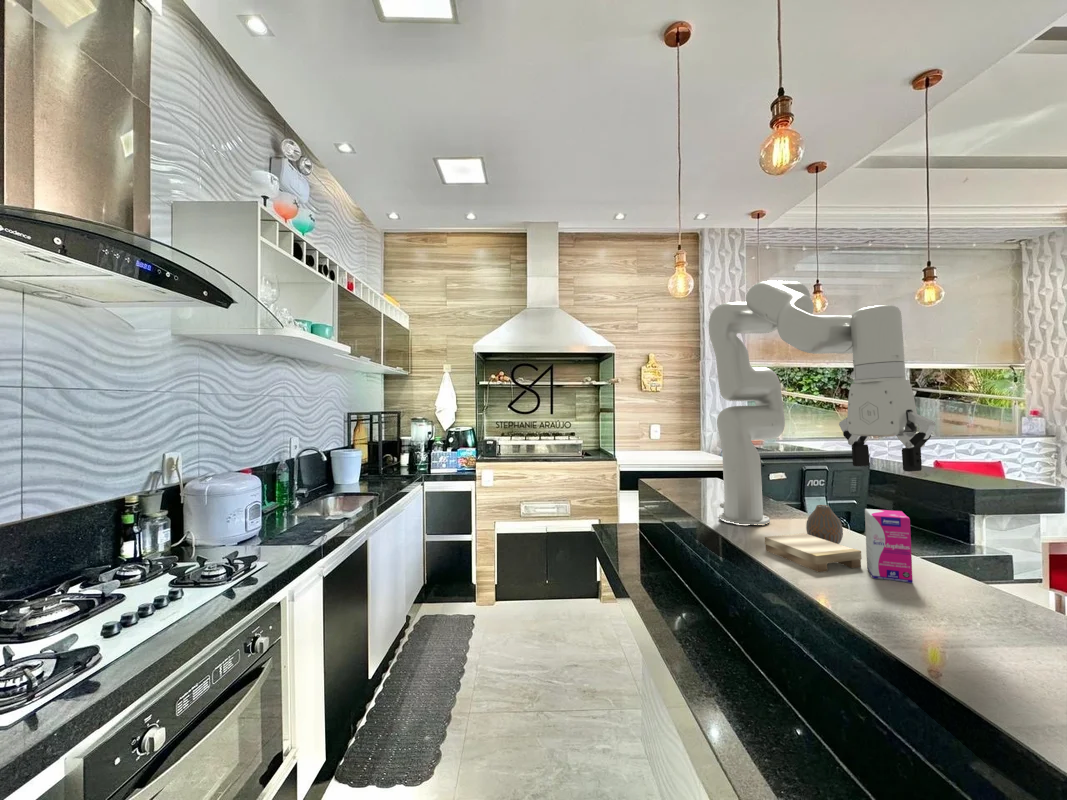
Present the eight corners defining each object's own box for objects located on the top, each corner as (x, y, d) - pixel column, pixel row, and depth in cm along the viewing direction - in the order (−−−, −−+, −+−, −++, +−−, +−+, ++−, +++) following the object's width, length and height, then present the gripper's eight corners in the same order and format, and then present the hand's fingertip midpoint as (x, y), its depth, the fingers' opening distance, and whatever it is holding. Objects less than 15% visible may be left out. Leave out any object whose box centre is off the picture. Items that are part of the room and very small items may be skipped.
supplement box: (872, 579, 81) (869, 514, 81) (866, 568, 86) (863, 508, 87) (914, 584, 78) (910, 517, 79) (905, 572, 84) (901, 510, 84)
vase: (800, 541, 105) (799, 503, 105) (831, 540, 105) (829, 502, 105) (818, 550, 98) (816, 509, 99) (851, 549, 98) (848, 508, 98)
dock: (765, 550, 99) (764, 536, 99) (804, 546, 101) (804, 532, 101) (817, 572, 85) (816, 555, 85) (862, 567, 87) (861, 550, 87)
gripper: (822, 379, 91) (828, 465, 90) (910, 369, 74) (917, 474, 73) (854, 378, 93) (859, 463, 92) (946, 368, 76) (954, 472, 75)
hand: (885, 468), depth 83 cm, fingers open, 9 cm apart
